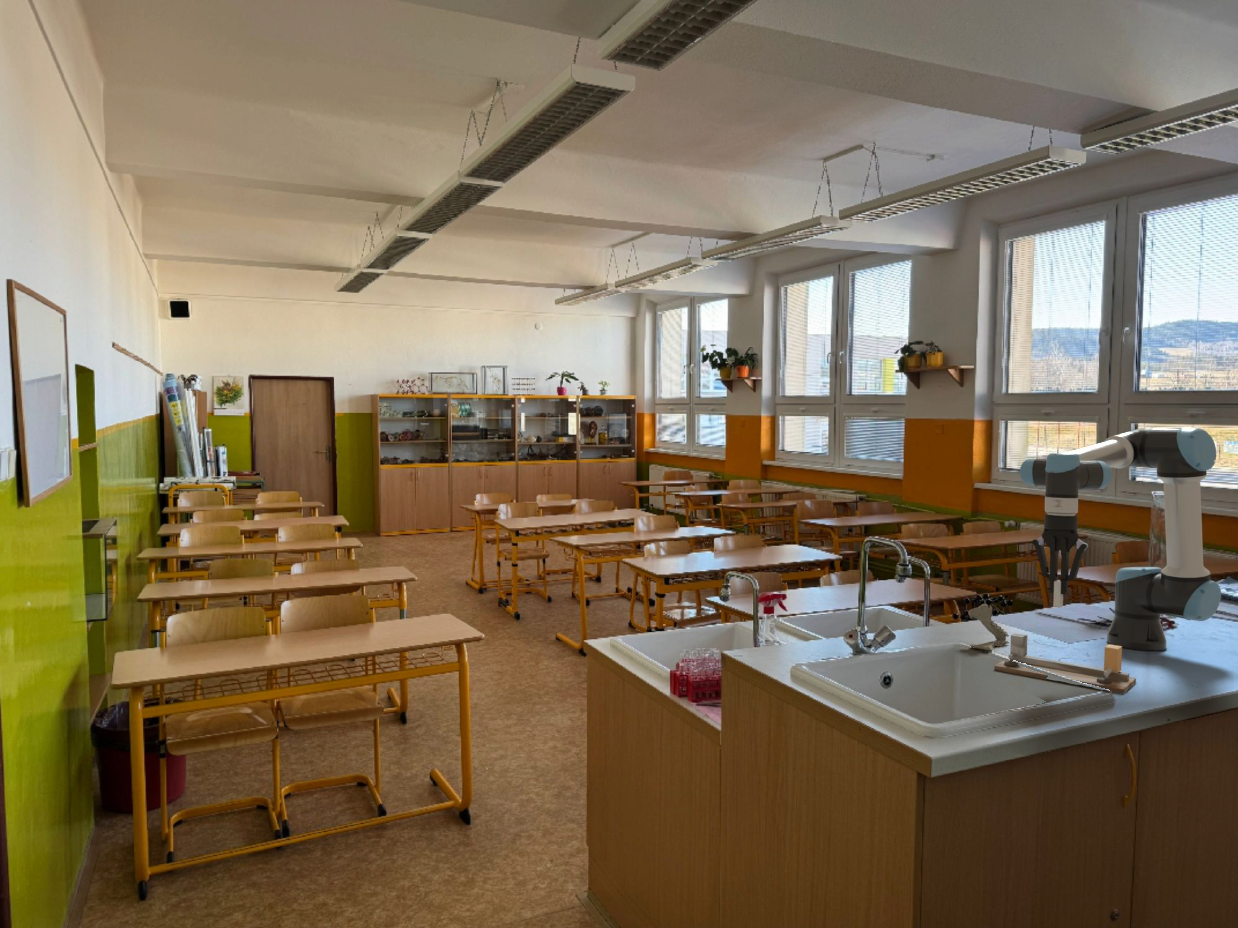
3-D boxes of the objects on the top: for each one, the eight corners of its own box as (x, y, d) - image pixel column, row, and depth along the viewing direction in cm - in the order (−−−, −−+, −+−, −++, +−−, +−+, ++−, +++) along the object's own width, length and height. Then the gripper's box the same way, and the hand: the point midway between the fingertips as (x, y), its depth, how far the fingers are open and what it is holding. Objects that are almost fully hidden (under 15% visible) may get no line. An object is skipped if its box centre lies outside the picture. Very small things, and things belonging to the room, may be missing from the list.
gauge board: (1010, 660, 238) (1011, 630, 238) (1135, 682, 218) (1136, 650, 217) (994, 669, 228) (995, 639, 228) (1123, 694, 208) (1124, 660, 208)
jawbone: (1012, 664, 253) (986, 648, 245) (988, 664, 258) (961, 648, 250) (1016, 618, 258) (990, 601, 250) (991, 619, 264) (966, 602, 256)
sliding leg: (1107, 670, 221) (1108, 644, 220) (1121, 672, 219) (1122, 646, 218) (1098, 677, 214) (1099, 650, 214) (1112, 679, 212) (1113, 652, 212)
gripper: (1029, 513, 221) (1026, 604, 222) (1085, 516, 213) (1082, 612, 214) (1038, 511, 227) (1035, 600, 228) (1093, 514, 218) (1090, 607, 219)
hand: (1058, 606), depth 221 cm, fingers closed
